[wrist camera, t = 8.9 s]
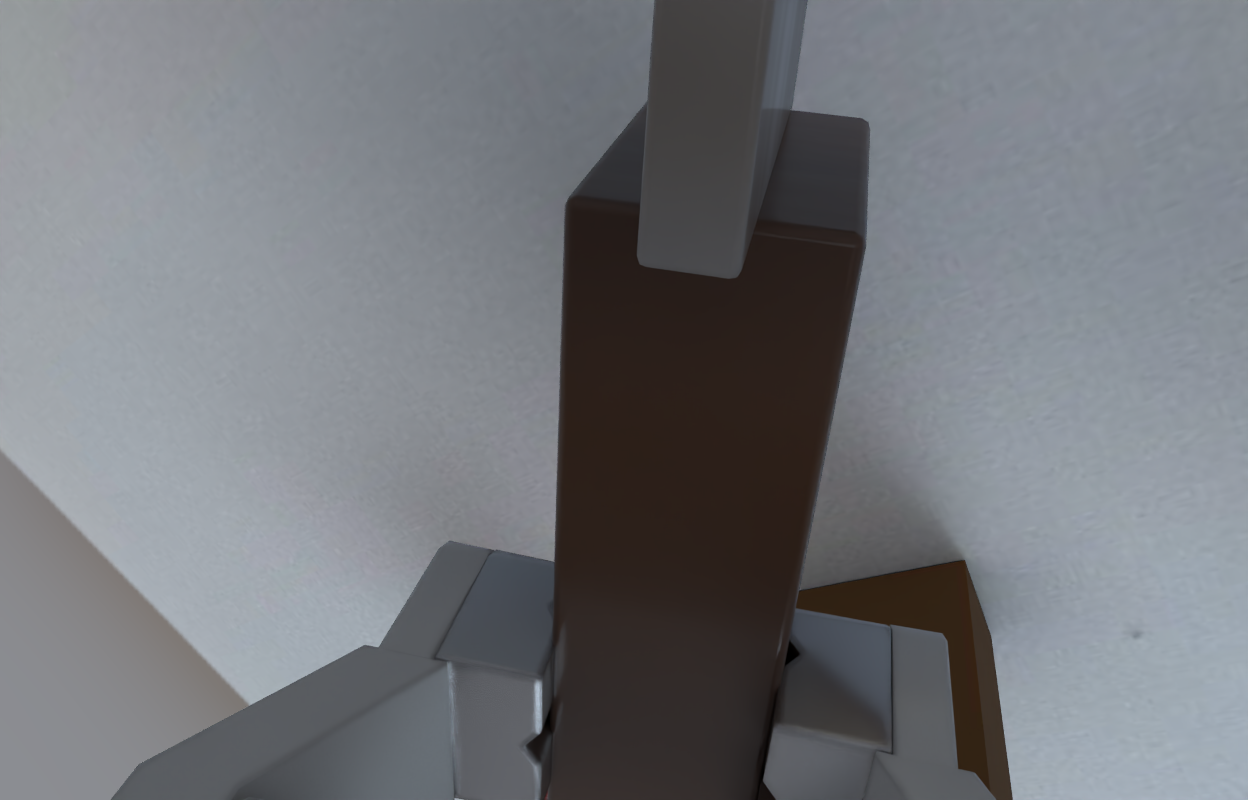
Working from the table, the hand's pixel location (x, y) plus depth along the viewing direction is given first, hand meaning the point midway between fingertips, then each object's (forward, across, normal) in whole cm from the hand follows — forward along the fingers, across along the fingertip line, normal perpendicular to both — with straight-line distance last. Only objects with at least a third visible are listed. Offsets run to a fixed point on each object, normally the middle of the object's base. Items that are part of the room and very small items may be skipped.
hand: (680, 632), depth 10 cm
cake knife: (+2, 0, -6) cm, 6 cm away
